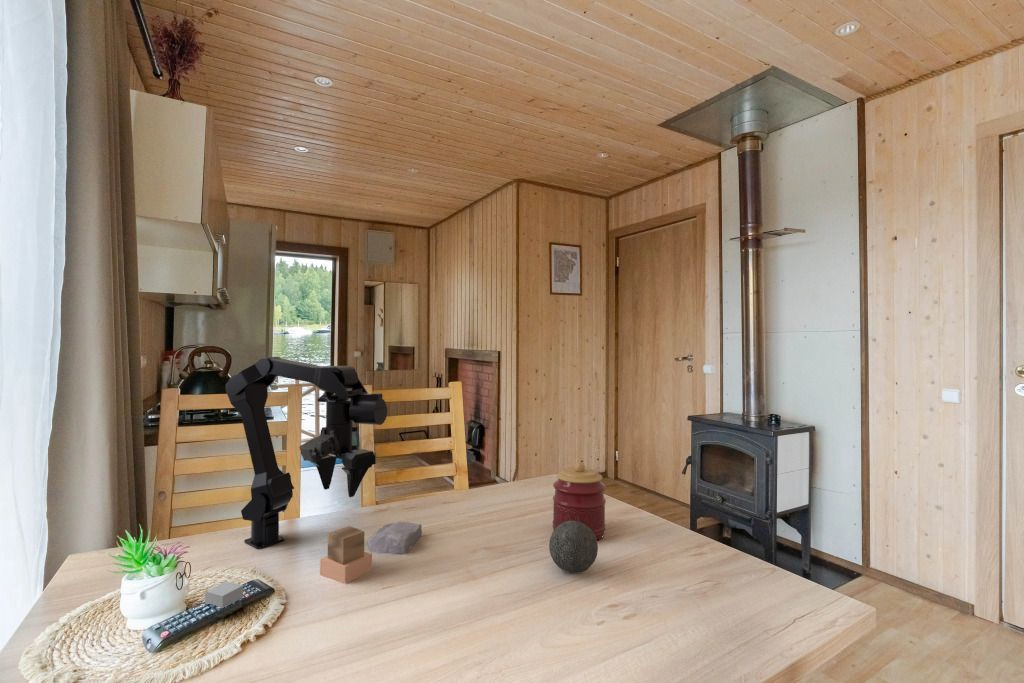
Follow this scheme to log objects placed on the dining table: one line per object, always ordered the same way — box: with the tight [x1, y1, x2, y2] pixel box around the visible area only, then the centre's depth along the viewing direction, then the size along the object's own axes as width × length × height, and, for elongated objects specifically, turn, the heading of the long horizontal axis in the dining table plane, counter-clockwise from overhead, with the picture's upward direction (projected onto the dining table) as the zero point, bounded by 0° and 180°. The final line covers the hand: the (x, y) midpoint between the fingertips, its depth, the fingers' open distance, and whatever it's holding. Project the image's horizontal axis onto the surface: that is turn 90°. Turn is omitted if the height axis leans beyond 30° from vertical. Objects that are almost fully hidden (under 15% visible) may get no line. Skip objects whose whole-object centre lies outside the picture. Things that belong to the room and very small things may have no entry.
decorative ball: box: [548, 521, 599, 574], centre depth 103 cm, size 10×10×10 cm
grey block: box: [204, 580, 244, 608], centre depth 86 cm, size 4×4×4 cm
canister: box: [552, 461, 607, 540], centre depth 123 cm, size 13×13×18 cm
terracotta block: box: [319, 551, 373, 585], centre depth 101 cm, size 7×7×4 cm
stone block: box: [367, 521, 423, 555], centre depth 116 cm, size 12×5×10 cm
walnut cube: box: [327, 525, 366, 565], centre depth 100 cm, size 5×5×5 cm
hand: (338, 492), depth 111 cm, fingers open, 9 cm apart
